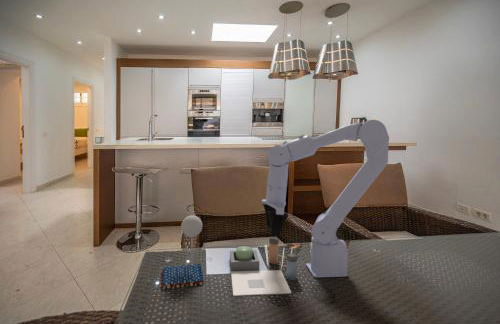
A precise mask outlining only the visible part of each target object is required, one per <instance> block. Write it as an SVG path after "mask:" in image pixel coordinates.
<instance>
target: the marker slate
mask: <svg viewBox="0 0 500 324" xmlns="http://www.w3.org/2000/svg"><path fill="white" fill-rule="evenodd" d="M285 273H286V274H285V279H287V280H289V281H295V280H297V278H298V277H297V276H298V255H297V254H295V253H288V254H286V272H285Z"/></svg>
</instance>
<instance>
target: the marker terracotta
mask: <svg viewBox="0 0 500 324" xmlns="http://www.w3.org/2000/svg"><path fill="white" fill-rule="evenodd" d="M268 243H269V244H268V263H269V264H271V265H276V264H278V263H279V243H280V238H277V237H270V238H268Z"/></svg>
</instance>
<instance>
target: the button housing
mask: <svg viewBox="0 0 500 324" xmlns="http://www.w3.org/2000/svg"><path fill="white" fill-rule="evenodd" d="M229 263H230V272H239V271H260V259H259V256H258V252H257V250H256V249H255V250H253V249H252V260H236V250H229Z"/></svg>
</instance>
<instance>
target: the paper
mask: <svg viewBox="0 0 500 324" xmlns="http://www.w3.org/2000/svg"><path fill="white" fill-rule="evenodd" d="M230 273H231V284H232V295H233V297H240V296H243V297H244V296H264V295H265V296H266V295H267V296H268V295H269V296H270V295H288V294H292V291H291V289H290V286H289V285H288V282H287V280H286V277H285V276H284V274H283V272H282V269H277V270H275V269H274V270H273V269H272V270H240V271H230Z"/></svg>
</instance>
